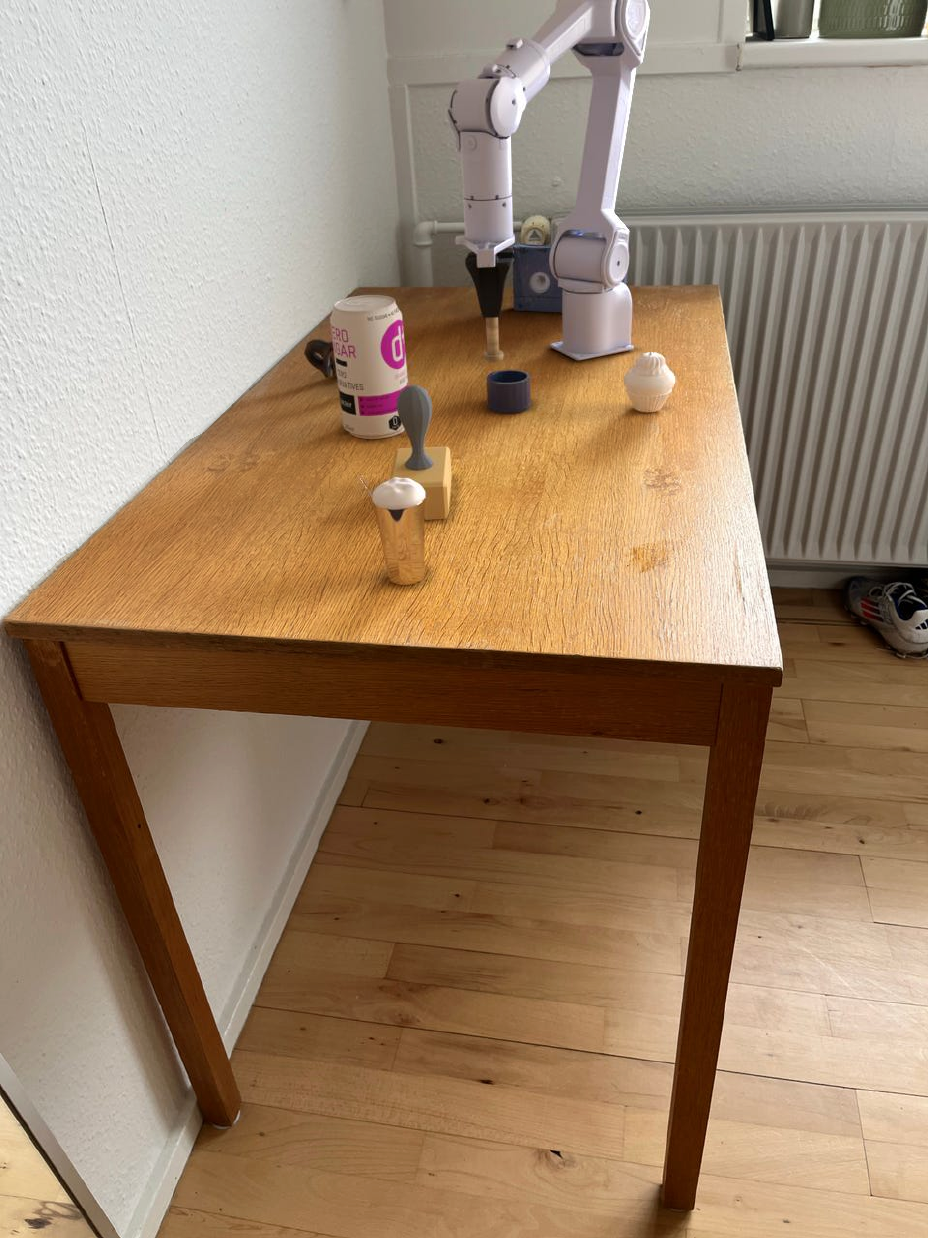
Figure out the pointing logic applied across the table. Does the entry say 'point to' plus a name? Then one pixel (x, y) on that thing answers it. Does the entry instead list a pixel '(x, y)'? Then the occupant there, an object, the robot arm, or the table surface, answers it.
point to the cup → (508, 391)
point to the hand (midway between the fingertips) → (491, 314)
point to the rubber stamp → (423, 453)
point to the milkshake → (401, 528)
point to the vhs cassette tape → (536, 280)
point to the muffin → (649, 382)
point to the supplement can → (369, 364)
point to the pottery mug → (326, 353)
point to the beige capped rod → (492, 342)
